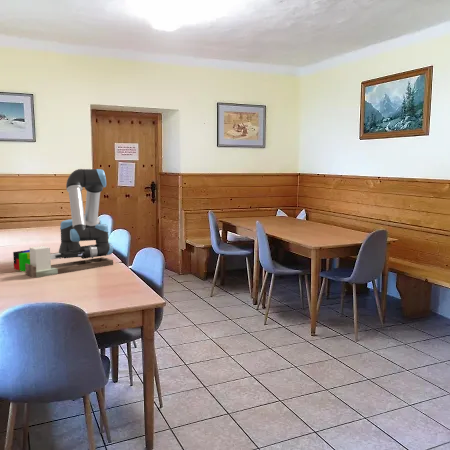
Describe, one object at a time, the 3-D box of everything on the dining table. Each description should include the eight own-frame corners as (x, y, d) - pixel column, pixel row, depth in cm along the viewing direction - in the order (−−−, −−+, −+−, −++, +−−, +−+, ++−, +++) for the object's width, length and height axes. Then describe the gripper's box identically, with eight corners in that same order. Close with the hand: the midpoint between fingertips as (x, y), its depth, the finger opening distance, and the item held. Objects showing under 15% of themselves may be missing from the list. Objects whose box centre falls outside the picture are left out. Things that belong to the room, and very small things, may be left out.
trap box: (25, 274, 254) (25, 263, 253) (103, 261, 288) (102, 252, 287) (34, 278, 246) (34, 267, 245) (113, 264, 279) (112, 255, 278)
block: (30, 268, 254) (29, 247, 252) (44, 266, 259) (43, 245, 258) (36, 271, 248) (35, 249, 247) (50, 269, 254) (49, 247, 252)
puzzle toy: (30, 266, 275) (29, 249, 274) (39, 268, 269) (38, 251, 267) (14, 268, 267) (13, 252, 266) (22, 271, 261) (21, 254, 260)
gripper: (93, 259, 269) (54, 265, 252) (82, 256, 278) (44, 261, 262) (93, 247, 268) (53, 252, 251) (82, 244, 277) (43, 248, 261)
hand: (49, 257), depth 257 cm, fingers closed
